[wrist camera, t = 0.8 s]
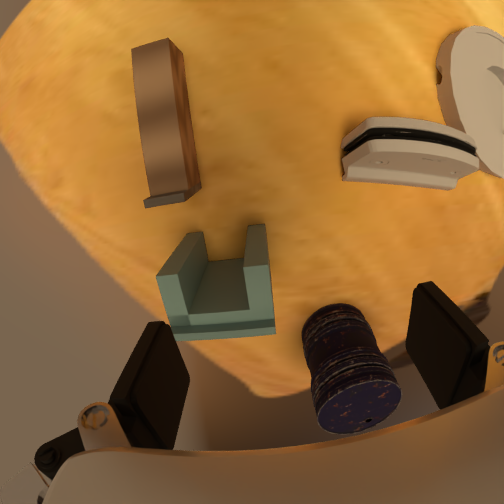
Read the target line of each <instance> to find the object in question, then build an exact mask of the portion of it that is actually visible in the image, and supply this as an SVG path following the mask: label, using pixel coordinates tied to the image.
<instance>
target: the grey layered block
mask: <svg viewBox="0 0 504 504" xmlns="http://www.w3.org/2000/svg"><path fill="white" fill-rule="evenodd" d="M341 148H344V151H349V152H348V153H346V154H345V157H344V158H342V162H343V167H344V171H345V174H344V175H343V176H342V181H355V182H370V183H383V184H394V185H405V186H415V187H424V188H432V189H441V190H451V189H454V188H455V187H456V184H457V181H458V179H460V178H462V177H464V176H467V175H469V174H471V173H473V172H476V171H478V170H479V158H477V156H476V155H475V153H476V150H477V146H476V144H475V141H474V139H473V138H472V137H470V136H469V135H467V134H465V133H464V132H461V131H459V130H457V129H454V128H452V127H449V126H446V125H442V124H439V123H435V122H430V121H426V120H419V119H412V118H401V117H371V118H367V119H366V120H365V121H363V122H362V123H361V124H360V125H358V126H357V127H356V128H355V129H354V130H352V131H351V132H350V133H349V134H348V135H346V136H345V137H344V138H343V139H342V143H341Z"/></svg>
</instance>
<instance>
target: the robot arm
mask: <svg viewBox="0 0 504 504" xmlns="http://www.w3.org/2000/svg"><path fill="white" fill-rule="evenodd" d="M488 342H489V340H488V339H487V337H486V336H485V335H484V334H483V333H482V332H481V331H480V330H479V329H478V328H477V326H476V325H475V324H474V323H473V322H472V321H471V320H470V319H469V318H468V317H467V316H466V315H465V314H464V313H463V312H462V311H461V310H460V308H459V307H458V306H457V305H456V304H455V303H454V302H453V301H452V300H451V299H450V298H449V297H448V296H447V295H446V294H445V293H444V292H443V291H442V290H441V289H440V288H438V287H437V286H436V285H435V284H434V283H433V282H432V281H429V282H424V283H420V284H418V285H417V287H416V288H415V289H414V290H413V297H412V305H411V312H410V319H409V326H408V332H407V338H406V350H407V352H408V354H409V355H410V357H411V359H412V361H413V362H414V364H415V366H416V367H417V369H418V371H419V373H420V374H421V376H422V378H423V380H424V382H425V383H426V385H427V387H428V389H429V390H430V392H431V394H432V396H433V398H434V400H435V401H436V404H437V405H438V407H439V409H440V410H438V411H436V412H433V413H431V414H428V415H425V416H423V417H419V418H416V419H413V420H411V421H407V422H404V423H401V424H398V425H394V426H391V427H388V428H384V429H380V430H377V431H373V432H369V433H364V434H360V435H356V436H351V437H347V438H343V439H338V440H332V441H326V442H320V443H315V444H307V445H300V446H292V447H284V448H273V449H262V450H245V451H182V450H173V448H174V444H175V440H176V436H177V432H178V428H179V423H180V419H181V415H182V411H183V407H184V403H185V399H186V395H187V391H188V387H189V383H190V377H189V373H188V371H187V369H186V366H185V364H184V361H183V359H182V356H181V354H180V351H179V349H178V346H177V343H176V341H175V338H174V335H173V333H172V330H171V327H170V326H169V325H168V324H165V322H164V321H155V322H149V323H148V324H147V326H146V328H145V330H144V331H143V333H142V336H141V337H140V339H139V341H138V343H137V344H136V347H135V348H134V350H133V352H132V354H131V356H130V358H129V360H128V362H127V364H126V366H125V368H124V369H123V371H122V373H121V376H120V377H119V379H118V381H117V383H116V385H115V387H114V389H113V392H112V394H111V396H110V400H109V402H108V404H107V403H104V402H95V403H92V404H90V405H88V406H86V407H85V408H84V409H83V410H82V411H81V412H80V414H79V416H78V419H77V424H78V427H77V428H75V429H73V430H71V431H69V432H67V433H65V434H63V435H61V436H60V437H57V438H55V439H53V440H51V441H49V442H47V443H45V444H43V445H42V446H41V447H40V448H39V449H38V450H37V452H36V454H35V458H34V459H35V464H32V463H31V462H30V463H29V464H28V465H27V466H25V467H24V468H23V469H22V470H21V471H19V472H18V473H17V474H16V475H15V476H13V477H12V478H11V479H10V480H8V481H7V482H6V483H5V484H4V485H3V486H2V487H1V490H0V499H1V502H2V504H504V342H498V343H495V344H494V345H492V347H490V346H489V345H488Z"/></svg>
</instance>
